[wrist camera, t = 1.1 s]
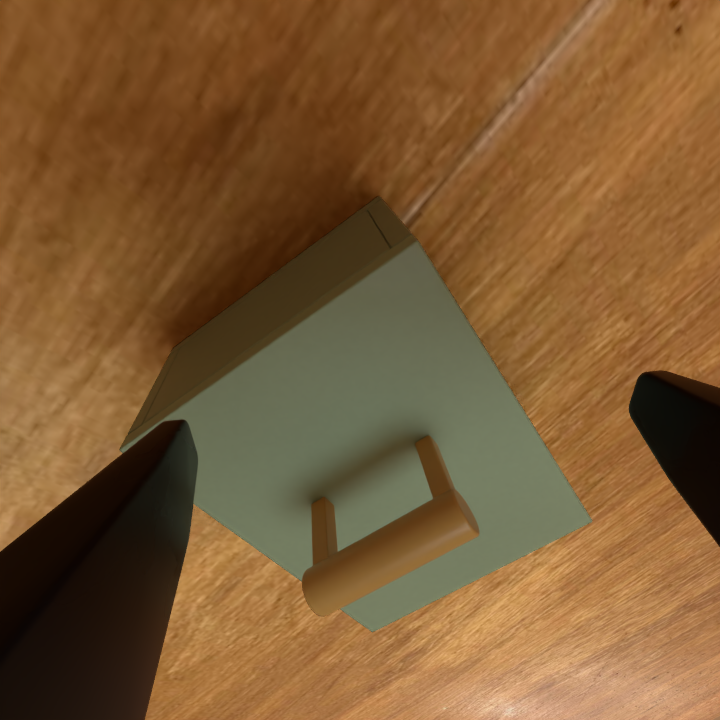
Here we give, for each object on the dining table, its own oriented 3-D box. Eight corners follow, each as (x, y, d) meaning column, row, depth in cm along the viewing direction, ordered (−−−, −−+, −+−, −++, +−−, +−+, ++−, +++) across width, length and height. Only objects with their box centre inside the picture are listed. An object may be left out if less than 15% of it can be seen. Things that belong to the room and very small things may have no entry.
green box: (518, 413, 27) (577, 498, 21) (349, 510, 30) (362, 610, 24) (379, 194, 20) (411, 232, 14) (172, 348, 22) (125, 435, 16)
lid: (583, 508, 22) (658, 614, 17) (370, 617, 24) (386, 735, 20) (412, 233, 14) (465, 293, 9) (125, 436, 16) (59, 560, 12)
